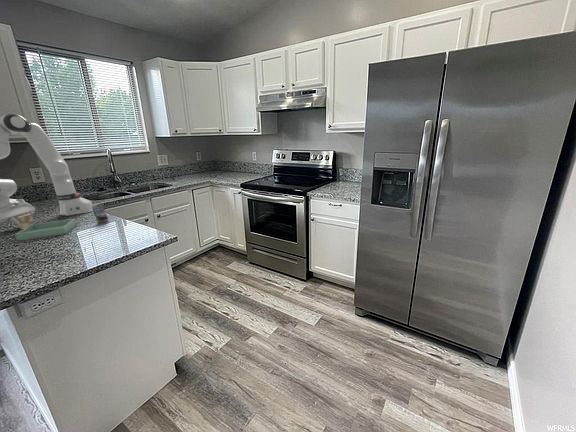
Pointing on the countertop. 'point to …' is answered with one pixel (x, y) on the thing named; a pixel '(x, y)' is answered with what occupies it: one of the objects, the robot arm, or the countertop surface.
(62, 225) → the tray
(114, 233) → the countertop surface
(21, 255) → the countertop surface
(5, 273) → the countertop surface
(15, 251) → the countertop surface
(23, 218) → the maple block
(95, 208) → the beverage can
